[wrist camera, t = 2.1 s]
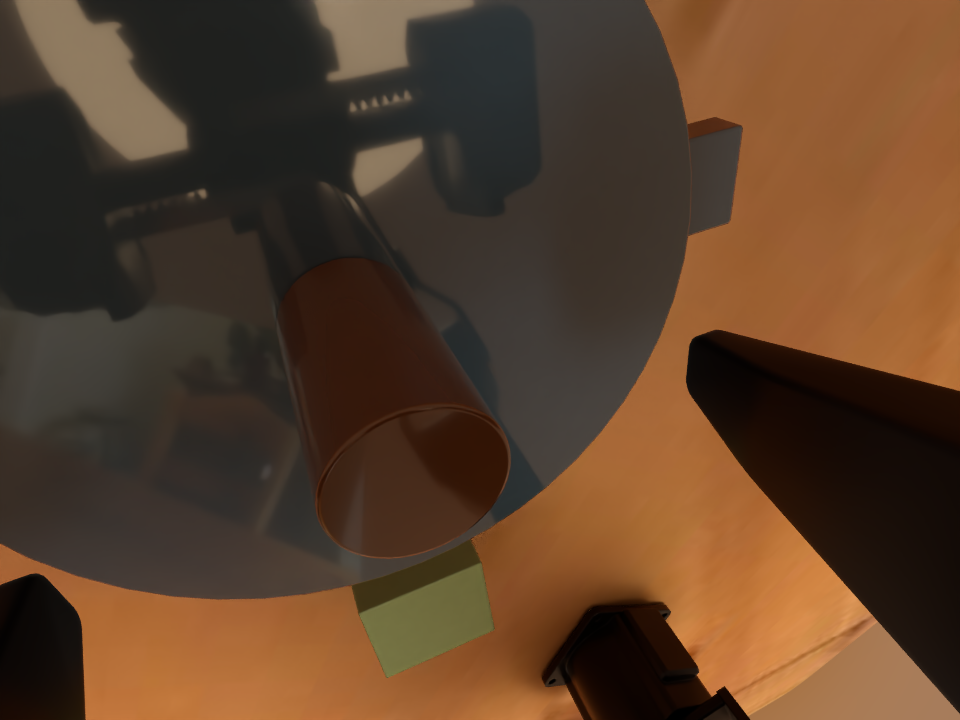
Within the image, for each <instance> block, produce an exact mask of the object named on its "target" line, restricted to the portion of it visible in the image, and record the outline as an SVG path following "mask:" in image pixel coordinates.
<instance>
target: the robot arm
mask: <svg viewBox="0 0 960 720" xmlns="http://www.w3.org/2000/svg"><path fill="white" fill-rule="evenodd" d="M686 383H687V388H688V391H689V393H690V395H691V396H692V398H693V399H694V401H695V402H696V403H697V405H698V406H699V408H700V409H701V410H702V412H703V413H704V415H705V416H706V417H707V419H708V420H709V422H710V423H711V424H712V426H713V427H714V429H715V430H716V431H717V433H718V434H719V436H720V437H721V438H722V440H723V441H724V443H725V444H726V445H727V447H728V448H729V450H730V451H731V452H732V454H733V455H734V457H735V458H736V459H737V461H738V462H739V463H740V465H741V466H742V467H743V468H744V470H745V471H746V472H747V473H748V475H749V476H750V477H751V478H752V479H753V481H754V482H755V483H756V484H757V485H758V486H759V488H760V489H761V490H762V491H763V492H764V493H765V494H766V495H767V497H768V498H769V499H770V500H771V501H772V502H773V503H774V505H775V506H776V507H777V508H778V509H779V510H780V511H781V512H782V514H783V515H784V516H785V517H786V518H787V519H788V520H789V521H790V523H791V524H792V525H793V526H794V527H795V528H796V529H797V530H798V532H799V533H800V534H801V535H802V536H803V537H804V538H805V540H806V541H807V542H808V543H809V544H810V545H811V546H812V547H813V549H814V550H815V551H816V552H817V553H818V554H819V555H820V556H821V558H822V559H823V560H824V561H825V562H826V563H827V564H828V565H829V567H830V568H831V569H832V570H833V571H834V572H835V573H836V574H837V576H838V577H839V578H840V579H841V580H842V581H843V582H844V584H845V585H846V586H847V587H848V588H849V589H850V590H851V591H852V593H853V594H854V595H855V596H856V597H857V598H858V599H859V600H860V602H861V603H862V604H863V605H864V606H865V607H866V608H867V609H868V611H869V612H870V613H871V614H872V615H873V616H874V617H875V619H876V620H877V621H878V622H879V623H880V624H881V625H882V626H883V628H884V629H885V630H886V631H887V632H888V633H889V634H890V635H891V637H892V638H893V639H894V640H895V641H896V642H897V643H898V644H899V646H900V647H901V648H902V649H903V650H904V651H905V652H906V653H907V655H908V656H909V657H910V658H911V659H912V660H913V661H914V663H915V664H916V665H917V666H918V667H919V668H920V669H921V670H922V672H923V673H924V674H925V675H926V676H927V677H928V678H929V679H930V681H931V682H932V683H933V684H934V685H935V686H936V687H937V688H938V690H939V691H940V692H941V693H942V694H943V695H944V696H945V698H946V699H947V700H948V701H949V702H950V703H951V704H952V705H953V707H954V708H955V709H956V710H957V711H958V712H959V713H960V391H957V390H954V389H950V388H946V387H942V386H938V385H934V384H930V383H926V382H922V381H918V380H914V379H910V378H906V377H903V376H899V375H895V374H891V373H887V372H883V371H879V370H875V369H871V368H867V367H863V366H859V365H855V364H852V363H848V362H844V361H840V360H836V359H832V358H828V357H824V356H820V355H816V354H812V353H808V352H805V351H801V350H797V349H793V348H789V347H785V346H781V345H777V344H773V343H769V342H765V341H761V340H758V339H754V338H750V337H746V336H742V335H738V334H734V333H730V332H726V331H722V330H713V331H710V332H707V333H705V334H702V335H699V336H696V337H695V338H693V339H692V341H691V343H690V346H689V355H688V365H687V375H686ZM670 613H671V611H670V610H669V608H668V607H667V606H666V605H636V606H605V607H595V608H593V609H591V610H590V611H589V612H588V613H587V614H586V616H585V617H584V618H583V620H582V621H581V623H580V624H579V626H578V627H577V628H576V630H575V631H574V633H573V634H572V635H571V637H570V638H569V640H568V641H567V643H566V644H565V645H564V647H563V648H562V650H561V651H560V652H559V654H558V655H557V657H556V658H555V659H554V661H553V662H552V664H551V665H550V667H549V668H548V669H547V671H546V672H545V674H544V675H543V677H542V681H543V683H544V685H545V686H546V687H552V686H560V685H566V686H567V688H568V690H569V692H570V694H571V696H572V698H573V700H574V702H575V704H576V706H577V708H578V710H579V712H580V714H581V716H582V718H583V719H584V720H750V719H749V717H748V716H747V715H746V713H745V712H744V711H743V709H742V708H741V707H740V706H739V704H738V703H737V702H736V700H735V699H734V698H733V696H732V695H731V694H730V693H729V691H728V690H727V689H726V687H725V686H724V687H722V688H721V689H719V690H718V691H716V692H717V694H716V695H714V696H713V697H711V695H710V694H709V692H708V691H707V689H706V688H705V687H704V685H703V684H702V682H701V681H700V679H699V678H698V676H697V674H698V673H699V669H698V666H697V665H696V663H695V662H694V660H693V659H692V658H691V656H690V655H689V653H688V652H687V650H686V649H685V648H684V646H683V645H682V643H681V642H680V641H679V639H678V638H677V636H676V635H675V633H674V632H673V631H672V629H671V628H670V626H669V625H668V624H667V622H666V621H665V620H666V619H667V618H668V616H669V615H670ZM0 720H86V719H85V694H84V669H83V644H82V626H81V621H80V618H79V615H78V613H77V611H76V610H75V609H74V607H73V606H72V605H71V604H70V603H69V602H68V601H67V600H66V599H65V598H64V597H63V595H62V594H61V593H60V592H59V591H58V590H57V589H56V588H55V587H54V586H53V585H52V584H51V583H50V582H49V580H48V579H46V578H45V577H44V576H42V575H40V574H29V575H26V576H24V577H21V578H18V579H15V580H12V581H10V582H7V583H4V584H2V585H0Z"/></svg>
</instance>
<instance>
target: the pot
mask: <svg viewBox="0 0 960 720" xmlns="http://www.w3.org/2000/svg"><path fill="white" fill-rule="evenodd" d="M687 125H688V133H689V145H690V156H691V168H692V190H691V218H690V225H689V232H688V236H689V235H692V234H696V233H699V232H702V231H705V230H708V229H712V228H715V227H718V226H721V225H724V224H728V223H729V222H730V220H731V213H732V205H733V198H734V191H735V183H736V176H737V168H738V161H739V153H740V146H741V138H742V131H743V128H742V126H741V125H738V124H735V123H732V122H729V121H726V120H723V119H720V118H716V117H713V118H710V119H706V120H702V121H698V122H694V123H691V124H687Z"/></svg>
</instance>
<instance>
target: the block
mask: <svg viewBox="0 0 960 720" xmlns="http://www.w3.org/2000/svg"><path fill="white" fill-rule="evenodd" d="M351 586H352V590H353V594H354V598H355V602H356V606H357V610H358V614H359V616H360V618H361V621H362V623H363V625H364V628H365V630H366V632H367V634H368V637H369V639H370V641H371V644H372V646H373V648H374V650H375V653H376V655H377V657H378V660H379V662H380V664H381V667H382V669H383V671H384V673H385V676H386V677H387V678H389V677H391V676H393V675H395V674H397V673H400V672H402V671H404V670H406V669H409V668H411V667H413V666H415V665H418V664H420V663H422V662H424V661H427V660H429V659H431V658H433V657H435V656H438V655H440V654H442V653H444V652H447V651H449V650H451V649H453V648H456V647H458V646H460V645H462V644H464V643H467V642H469V641H471V640H473V639H476V638H478V637H480V636H482V635H485V634H487V633H489V632H491V631H494V629H495V628H494V623H493V618H492V613H491V608H490V603H489V598H488V593H487V588H486V583H485V578H484V573H483V568H482V563H481V560H480V558H479V556H478V554H477V552H476V550H475V548H474V546H473V544H472V541H471V539H469V540H468V541H466V542H464V543H462V544H460V545H459V546H457V547H455V548H453V549H450V550H448V551H446V552H444V553H442V554H439V555H437V556H435V557H433V558H431V559H428V560H426V561H424V562H422V563H419V564H417V565H414V566H411V567H408V568H405V569H403V570H400V571H397V572H394V573H392V574H389V575H386V576H383V577H379V578H376V579H372V580H368V581H365V582H361V583H358V584H354V585H351Z"/></svg>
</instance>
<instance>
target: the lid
mask: <svg viewBox="0 0 960 720" xmlns="http://www.w3.org/2000/svg"><path fill="white" fill-rule="evenodd" d="M691 190H692V168H691V156H690V145H689V133H688V125H687V121H686V116H685V111H684V107H683V102H682V97H681V93H680V88H679V83H678V79H677V76H676V73H675V71H674V68H673V65H672V62H671V59H670V57H669V54H668V51H667V48H666V45H665V43H664V40H663V37H662V34H661V31H660V29H659V27H658V25H657V23H656V21H655V20H654V18H653V16H652V14H651V12H650V10H649V8H648V6H647V4H646V2H645V0H0V544H2V545H4V546H6V547H8V548H10V549H12V550H13V551H15V552H17V553H19V554H21V555H23V556H25V557H27V558H30V559H32V560H35V561H38V562H40V563H43V564H46V565H48V566H51V567H54V568H56V569H59V570H62V571H64V572H67V573H70V574H72V575H75V576H78V577H82V578H86V579H89V580H93V581H97V582H101V583H105V584H109V585H112V586H116V587H120V588H124V589H129V590H135V591H141V592H148V593H154V594H160V595H166V596H172V597H186V598H201V599H216V600H229V599H266V598H276V597H285V596H295V595H304V594H310V593H315V592H321V591H326V590H331V589H336V588H342V587H347V586H350V585H354V584H358V583H361V582H365V581H368V580H372V579H376V578H379V577H383V576H386V575H389V574H392V573H394V572H397V571H400V570H403V569H405V568H408V567H411V566H414V565H417V564H419V563H422V562H424V561H426V560H428V559H431V558H433V557H435V556H437V555H439V554H442V553H444V552H446V551H448V550H450V549H453V548H455V547H457V546H459V545H460V544H462V543H464V542H466V541H468V540H469V539H471V538H473V537H475V536H477V535H478V534H480V533H482V532H484V531H486V530H487V529H489V528H491V527H492V526H494V525H495V524H497V523H498V522H500V521H501V520H503V519H504V518H506V517H507V516H509V515H510V514H512V513H513V512H515V511H516V510H518V509H519V508H521V507H522V506H523V505H524V504H526V503H527V502H528V501H530V500H531V499H532V498H533V497H535V496H536V495H537V494H538V493H540V492H541V491H542V490H543V489H545V488H546V487H547V486H549V485H550V484H551V483H552V482H553V481H554V480H555V479H556V478H557V477H558V476H559V475H560V474H561V473H562V472H564V471H565V470H566V469H567V468H568V467H569V466H570V465H571V464H572V463H573V462H574V461H575V460H576V459H577V458H578V457H579V456H580V455H581V454H582V453H583V452H584V450H585V449H586V448H587V447H588V446H589V445H590V444H591V443H592V442H593V440H594V439H595V438H596V437H597V436H598V435H599V434H600V433H601V431H602V430H603V429H604V427H605V426H606V425H607V423H608V422H609V421H610V419H611V418H612V417H613V415H614V414H615V413H616V411H617V410H618V409H619V408H620V406H621V405H622V404H623V402H624V401H625V399H626V397H627V396H628V394H629V392H630V391H631V389H632V388H633V386H634V384H635V383H636V381H637V379H638V378H639V376H640V375H641V373H642V371H643V370H644V368H645V366H646V364H647V362H648V360H649V357H650V355H651V353H652V351H653V349H654V347H655V345H656V343H657V341H658V339H659V337H660V335H661V332H662V330H663V327H664V324H665V322H666V319H667V316H668V314H669V311H670V308H671V306H672V303H673V300H674V297H675V294H676V290H677V286H678V282H679V278H680V274H681V271H682V267H683V263H684V259H685V252H686V245H687V239H688V232H689V225H690V218H691Z"/></svg>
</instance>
